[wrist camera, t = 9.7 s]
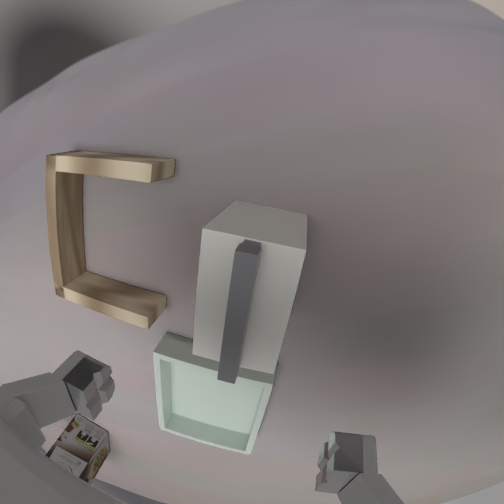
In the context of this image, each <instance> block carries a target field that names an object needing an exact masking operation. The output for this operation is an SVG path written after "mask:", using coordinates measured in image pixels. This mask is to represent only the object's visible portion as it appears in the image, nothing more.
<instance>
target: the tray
mask: <svg viewBox="0 0 504 504" xmlns="http://www.w3.org/2000/svg"><path fill="white" fill-rule="evenodd" d="M192 352H193V340H192V339H189V338H185V337H182V336H178V335H175V334H172V333H168V332H167V333H166V334H165V336H164V337H163V338H162V340H161V341H160V343H159V344H158V345H157V347H156V348H155V350H154V351H153V359H154V374H155V387H156V398H157V408H158V417H159V426H160V429H162V430H165V431H167V432H170V433H173V434H176V435H179V436H182V437H185V438H188V439H192V440H195V441H198V442H201V443H205V444H208V445H212V446H216V447H219V448H223V449H227V450H231V451H235V452H239V453H244V454H248V455H250V453H251V451H252V448H253V445H254V442H255V439H256V436H257V433H258V430H259V427H260V424H261V421H262V418H263V415H264V412H265V409H266V406H267V403H268V400H269V397H270V394H271V391H272V387H273V384H274V379H275V373H276V368H277V364H276V367H275V370H274V374H269V373H264V372H260V371H255V370H251V369H247V368H243V367H239V372H238V375H237V379H236V382H235V384H232V383H228V382H224V381H220V380H217V377H218V369H219V361H215V360H211V359H208V358H204V357H201V356H197V355H194V354H192ZM277 362H278V361H277Z"/></svg>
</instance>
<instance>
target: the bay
mask: <svg viewBox="0 0 504 504" xmlns="http://www.w3.org/2000/svg"><path fill="white" fill-rule="evenodd" d="M174 167H175V160H174V159H166V158H158V157H148V156H139V155H128V154H117V153H104V152H89V151H69V152H62V153H56V154H50V155H47V157H46V203H47V223H48V236H49V246H50V255H51V264H52V271H53V278H54V284H55V290H56V295H58V296H60V297H62V298H65V299H67V300H69V301H72V302H74V303H77V304H79V305H82V306H84V307H87V308H89V309H92V310H94V311H97V312H100V313H102V314H105V315H108V316H110V317H113V318H116V319H118V320H121V321H124V322H127V323H130V324H133V325H135V326H138V327H141V328H144V329H147V330H148V329H149V328H150V327H151V325H152V324H153V323H154V322H155V321H156V319H157V318H158V317H159V316H160V314H161V313H162V312H163V311H164V309H165V308H166V295H162V294H159V293H155V292H152V291H148V290H145V289H141V288H138V287H135V286H131V285H128V284H125V283H121V282H118V281H115V280H112V279H109V278H106V277H102V276H99V275H96V274H93V273H90V272H87V271H86V265H85V252H84V235H83V174H86V175H95V176H103V177H110V178H118V179H125V180H133V181H140V182H147V183H152V182H155V181H159V180H162V179H165V178H168V177H172V176H174Z"/></svg>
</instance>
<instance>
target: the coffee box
mask: <svg viewBox="0 0 504 504" xmlns="http://www.w3.org/2000/svg"><path fill="white" fill-rule="evenodd" d="M109 452H110V447H109V438H108V432H107V431H106V430H104V429H102V428H100V427H99V426H97V425H95V424H94V423H92V422H91V421H89V420H87V419H86V418H84V417H83V416H81V415H80V414H76V415H75V417H74V418H73V419H72V421H71V422H70V423H69V425H68V426H67V427H66V429H65V430H64V431H63V433H62V434H61V435H60V437H59V438H58V439H57V441H56V442H55V443H54V445H53V446H52V447H51V449H50V450H49V451H48V453H47V454H46V456H47V457H48V458H50V459H51V460H53V461H54V462H56V463H57V464H58V465H60V466H61V467H63V468H64V469H66V470H67V471H69V472H71V473H72V474H74V475H75V476H77V477H79V478H80V479H82V480H84V481H85V482H87V483H89V484H91V482H92V481H93V479H94V478H95V476H96V474H97V472H98V471H99V469H100V467H101V466H102V464H103V462H104V461H105V459H106V457H107V456H108V454H109Z"/></svg>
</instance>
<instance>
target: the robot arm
mask: <svg viewBox="0 0 504 504" xmlns="http://www.w3.org/2000/svg"><path fill="white" fill-rule="evenodd" d="M111 374H112V370H111V367H110V366H108V365H106V364H104V363H102V362H100V361H98V360H96V359H94V358H92V357H90V356H89V355H87V354H85V353H83V352H81V351H79V350H78V351H75V352H74V353H73V354H72V355H71V356H70V357H69V358H68V359H67V360H66V361H65V362H64V363H63V364H61V365H60V366H59V367H58V368H57V369H56V370H55V371H54V372H53V373H52V374H51V373H50V372H49V373H45V374H42V375H38V376H34V377H30V378H26V379H23V380H19V381H15V382H11V383H7V384H3V385H2V386H1V387H0V504H127V503H124V502H122V501H120V500H118V499H116V498H114V497H112V496H110V495H109V494H107V493H105V492H103V491H101V490H99V489H97V488H96V487H94V486H92V485H90V484H89V483H87V482H85V481H84V480H82V479H80V478H79V477H77V476H75V475H74V474H72V473H71V472H69V471H67V470H66V469H64V468H63V467H61V466H60V465H58V464H57V463H56V462H54V461H53V460H51V459H50V458H48V457H47V456H46V455H44V454H43V453H41V452H40V451H39V449H40V447H41V446H42V445H43V443H44V442H45V441H46V439H45V436H44V435H43V433H42V432H41V430H40V428H42V427H45V426H47V425H50V424H52V423H54V422H56V421H59V420H61V419H63V418H66V417H68V416H70V415H72V414H74V413H76V411H77V412H79V413H80V414H82V415H84V416H86V417H88V418H90V419H92V420H95V418H96V417H97V416H98V414H99V413H100V412H101V411H102V404H103V403H106V402H108V401H109V400H110V399H111V397H112V395H113V392H114V389H115V384H114V380H113V379H112V377H111V376H110V375H111ZM318 467H319V468H320V470H321V471H320V472H319V473H318V475H317V476H316V486H315V491H319V492H328V493H337V495H338V497H339V499H340V501H341V503H342V504H404V503H403V502H402V500H401V499H400V498H399V496H398V495H397V494H396V493H395V491H394V490H393V489H392V487H391V486H390V485H389V483H388V482H387V481H386V479H385V478H384V477H383V475H382V474H378V467H377V451H376V438H375V437H374V436H371V435H360V434H352V433H343V432H332V433H331V434H330V436H329V442H326V443H325V444H324V445H323V447H322V449H321V452H320V454H319V459H318Z"/></svg>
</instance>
